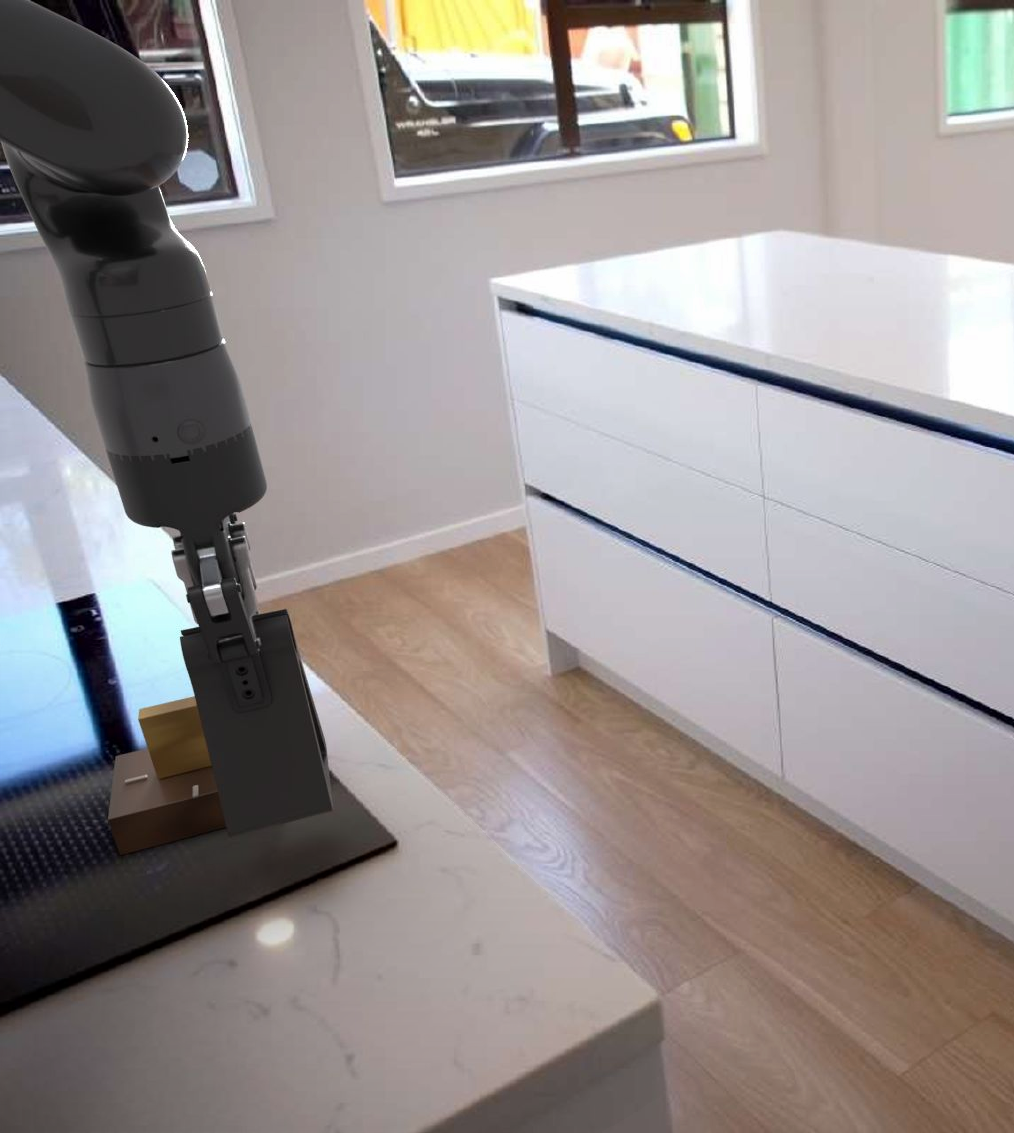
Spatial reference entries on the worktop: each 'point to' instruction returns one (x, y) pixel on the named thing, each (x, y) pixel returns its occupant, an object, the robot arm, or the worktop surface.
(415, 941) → the worktop surface
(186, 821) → the plate
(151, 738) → the lock knob
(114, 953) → the worktop surface
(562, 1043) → the worktop surface
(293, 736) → the phone stand
